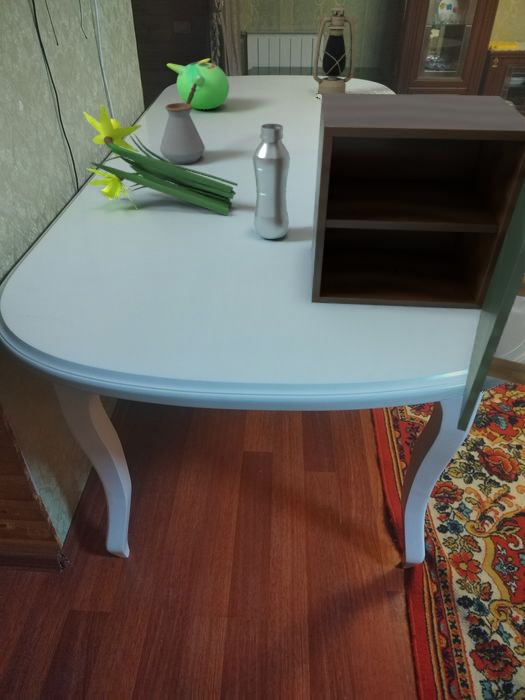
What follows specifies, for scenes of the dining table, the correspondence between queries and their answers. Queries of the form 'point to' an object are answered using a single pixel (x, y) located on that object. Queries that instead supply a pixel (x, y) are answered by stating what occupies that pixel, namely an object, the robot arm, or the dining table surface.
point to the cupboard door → (498, 315)
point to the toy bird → (202, 84)
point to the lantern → (334, 52)
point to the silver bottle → (271, 183)
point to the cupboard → (413, 198)
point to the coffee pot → (181, 134)
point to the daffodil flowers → (154, 170)
